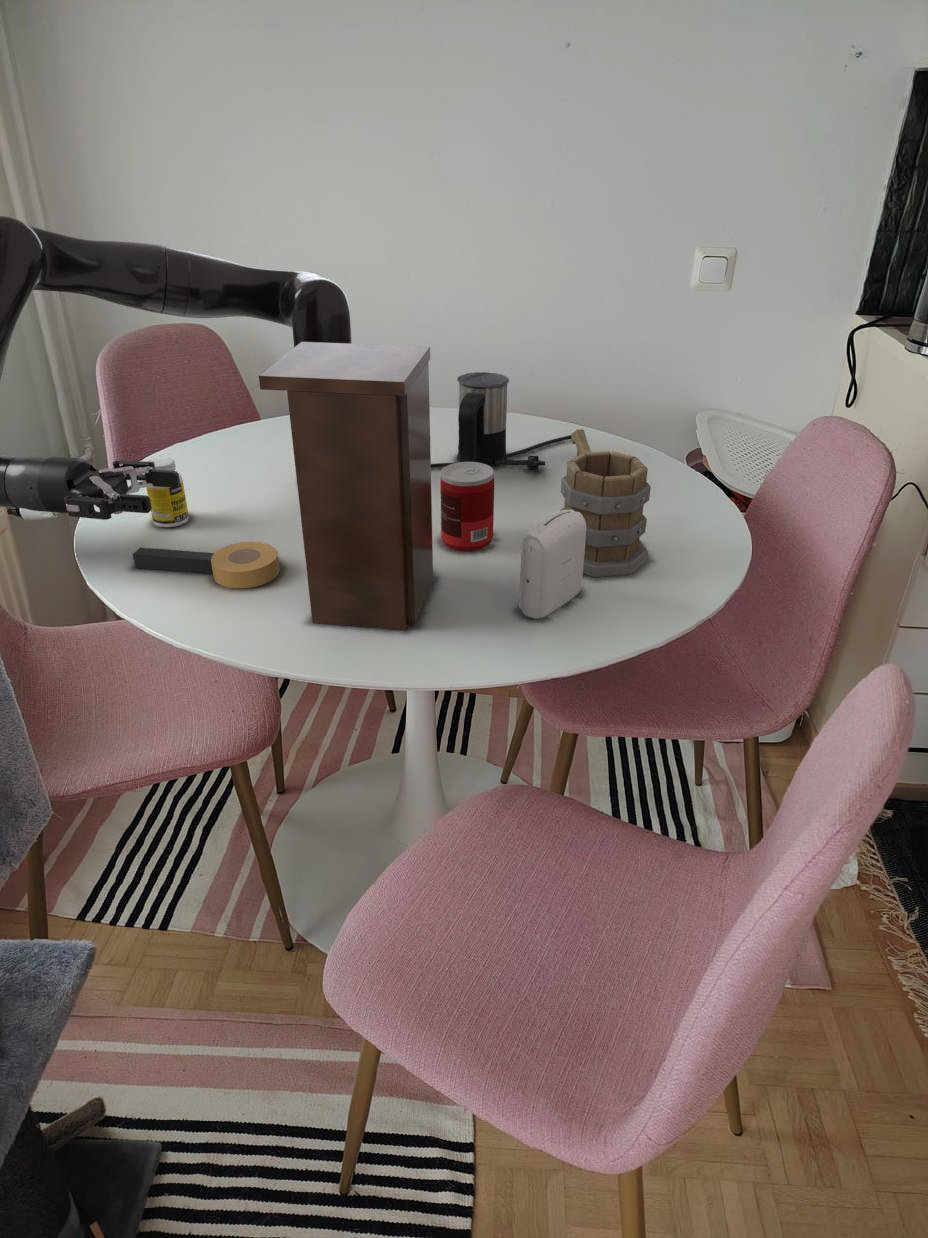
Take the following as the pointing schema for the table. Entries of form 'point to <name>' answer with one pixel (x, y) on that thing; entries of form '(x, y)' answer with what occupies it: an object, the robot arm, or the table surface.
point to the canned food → (467, 505)
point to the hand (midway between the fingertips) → (164, 491)
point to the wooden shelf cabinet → (361, 477)
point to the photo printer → (552, 563)
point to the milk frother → (485, 421)
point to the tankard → (608, 507)
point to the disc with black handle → (218, 563)
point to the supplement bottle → (167, 498)
